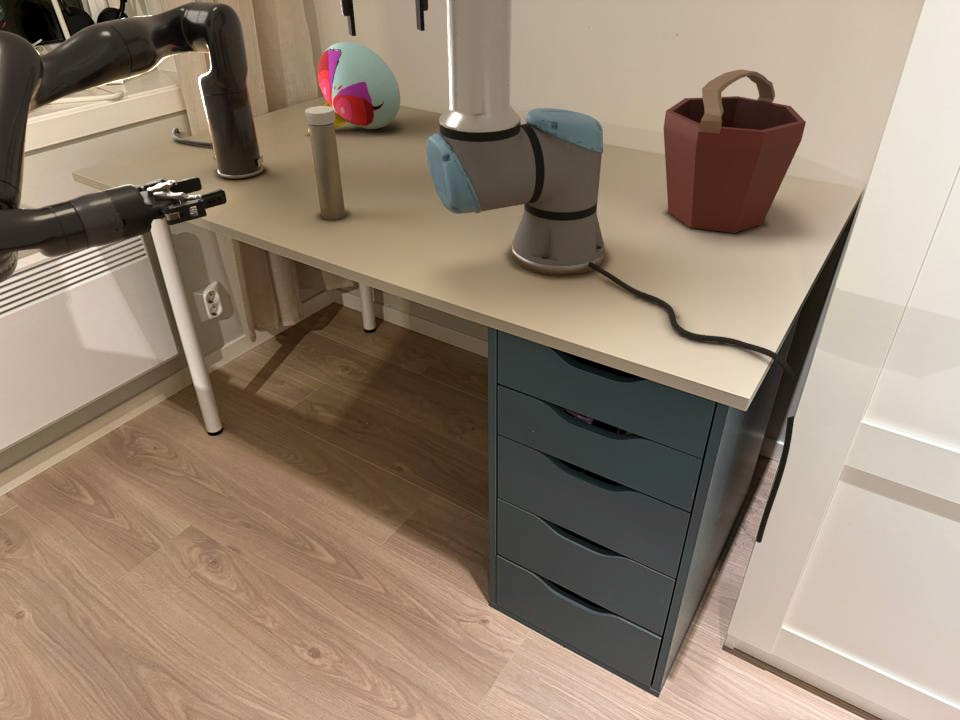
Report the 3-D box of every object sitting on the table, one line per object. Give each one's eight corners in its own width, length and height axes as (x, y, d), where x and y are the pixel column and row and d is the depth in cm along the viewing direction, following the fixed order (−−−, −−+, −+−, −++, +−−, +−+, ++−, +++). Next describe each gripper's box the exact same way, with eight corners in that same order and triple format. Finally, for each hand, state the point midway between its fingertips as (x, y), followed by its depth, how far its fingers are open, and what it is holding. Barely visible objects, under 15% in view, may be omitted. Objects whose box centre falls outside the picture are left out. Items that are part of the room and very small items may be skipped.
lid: (319, 116, 126) (318, 104, 125) (341, 119, 124) (340, 108, 123) (300, 123, 122) (298, 111, 121) (322, 127, 120) (320, 115, 119)
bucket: (710, 250, 119) (740, 96, 105) (622, 208, 134) (638, 69, 120) (804, 218, 129) (843, 75, 115) (713, 183, 145) (736, 53, 131)
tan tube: (332, 209, 135) (318, 107, 125) (350, 213, 134) (338, 110, 123) (316, 216, 132) (301, 113, 122) (334, 221, 130) (321, 117, 120)
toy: (277, 110, 181) (275, 51, 163) (352, 72, 191) (358, 13, 173) (336, 175, 178) (341, 122, 160) (410, 134, 188) (421, 79, 170)
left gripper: (99, 226, 110) (197, 200, 120) (135, 254, 102) (238, 223, 111) (84, 180, 106) (187, 156, 116) (120, 204, 98) (228, 176, 107)
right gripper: (437, -101, 131) (441, 24, 143) (302, -99, 123) (318, 33, 135) (451, -100, 125) (454, 30, 137) (310, -98, 117) (326, 40, 129)
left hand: (212, 189), depth 113 cm, fingers open, 8 cm apart
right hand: (387, 32), depth 136 cm, fingers open, 13 cm apart
